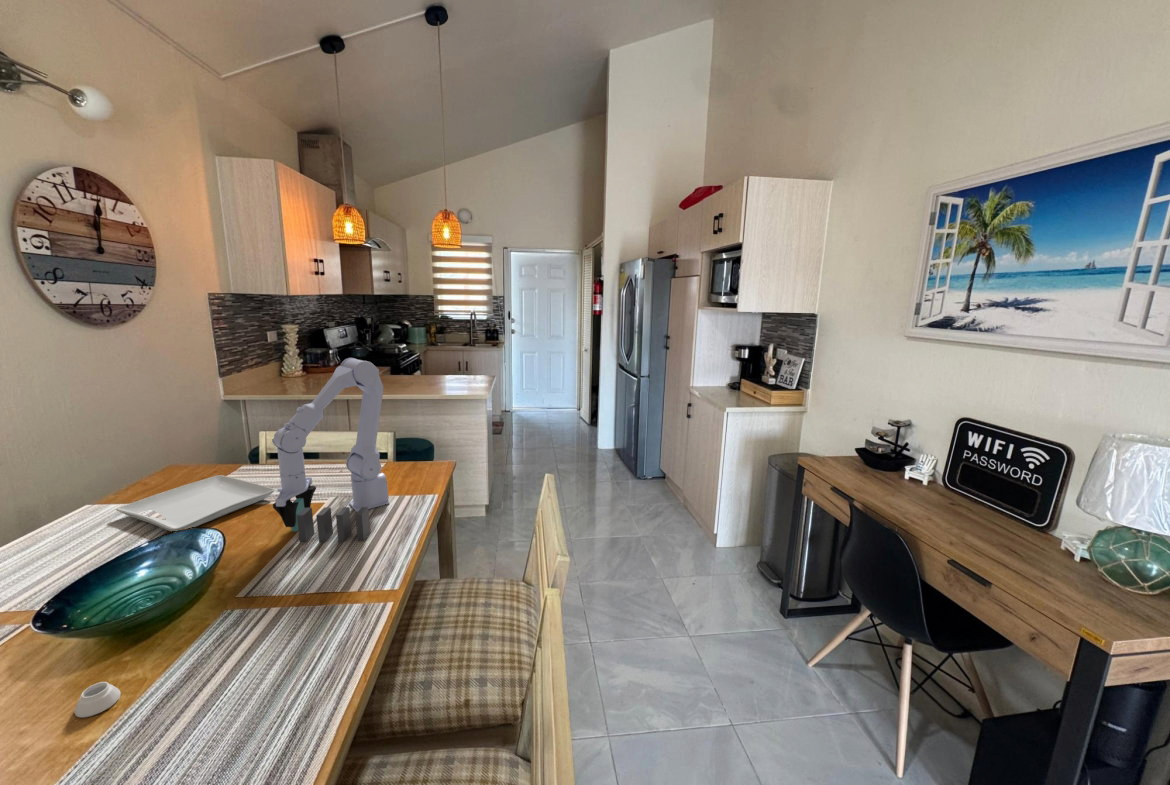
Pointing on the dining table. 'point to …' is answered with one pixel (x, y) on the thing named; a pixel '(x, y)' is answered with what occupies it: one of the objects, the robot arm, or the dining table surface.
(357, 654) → the dining table surface
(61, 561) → the dining table surface
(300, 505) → the tile
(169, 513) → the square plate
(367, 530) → the tile
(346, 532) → the tile
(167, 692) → the dining table surface
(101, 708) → the small white bowl
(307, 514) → the tile
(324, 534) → the tile
